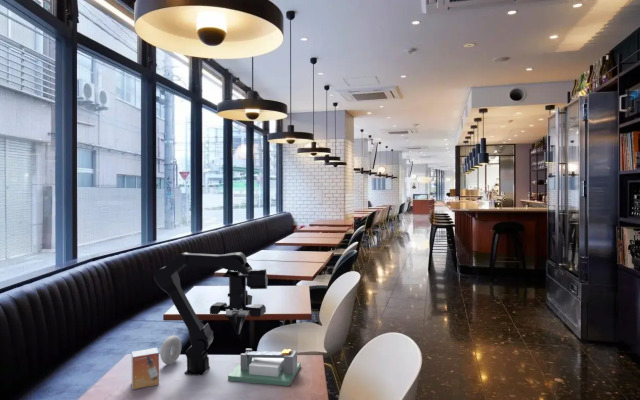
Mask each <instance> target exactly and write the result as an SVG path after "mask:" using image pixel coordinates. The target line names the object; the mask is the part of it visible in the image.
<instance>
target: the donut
mask: <svg viewBox="0 0 640 400" xmlns="http://www.w3.org/2000/svg"><path fill="white" fill-rule="evenodd" d="M181 351H182V341H181V339H180V338H179V336H177V335H169V336H168V337H166V339H165V340H164V341H163V343H162V344H161V348H160V353H159V357H160V360H161V362H163V363H164V364H165V365H173V364H174V363H175V362H176V361H177V360H178V359H179V357H180V355H181Z"/></svg>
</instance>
